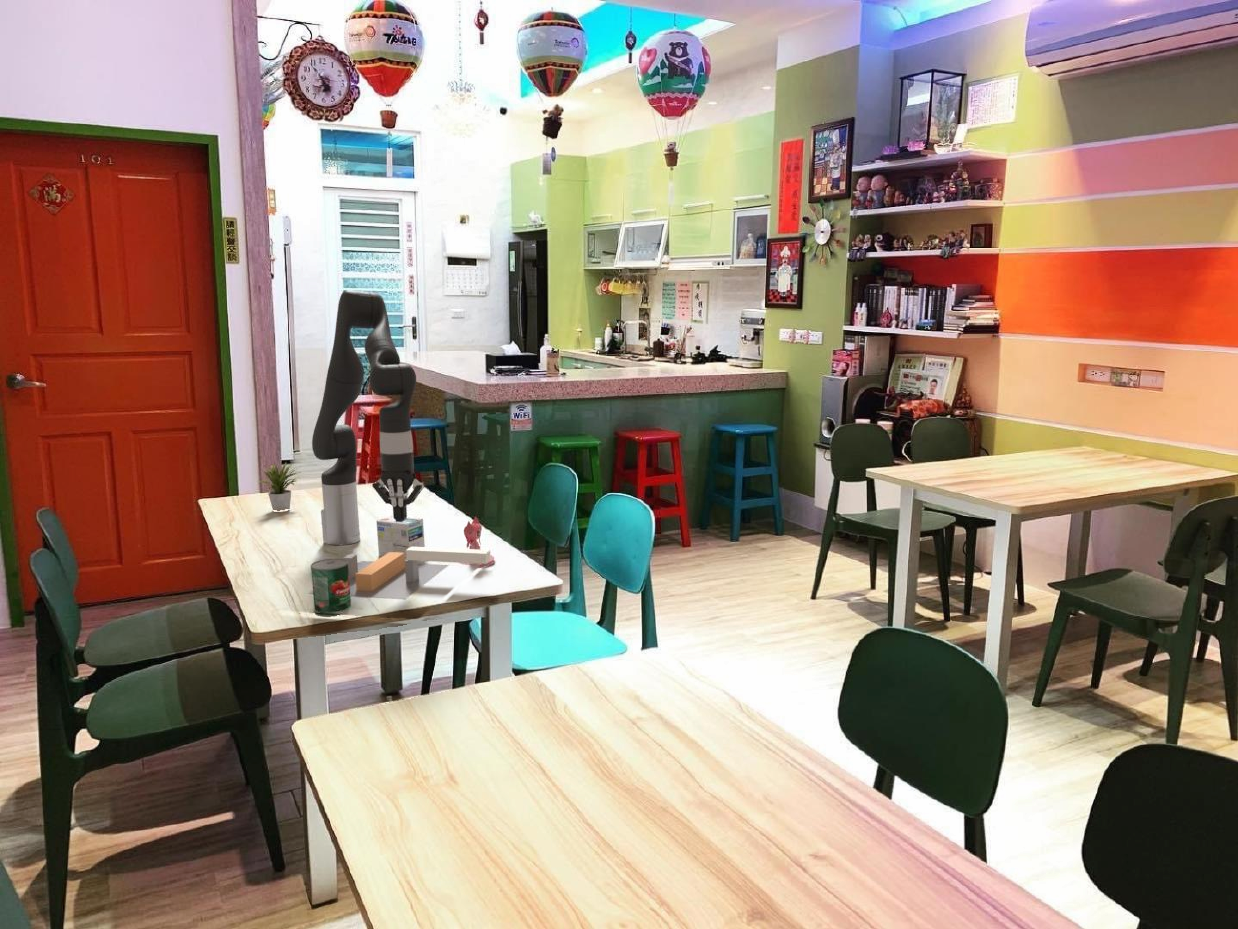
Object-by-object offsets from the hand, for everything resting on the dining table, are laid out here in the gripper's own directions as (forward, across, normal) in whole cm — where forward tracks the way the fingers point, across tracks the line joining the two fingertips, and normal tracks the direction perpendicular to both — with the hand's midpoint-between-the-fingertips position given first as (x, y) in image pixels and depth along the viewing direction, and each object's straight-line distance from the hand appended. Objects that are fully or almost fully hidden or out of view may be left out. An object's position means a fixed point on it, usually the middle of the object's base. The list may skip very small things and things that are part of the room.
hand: (400, 521), depth 214 cm
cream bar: (+9, +12, 0) cm, 15 cm away
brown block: (+15, -6, 0) cm, 16 cm away
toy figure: (+16, +11, +19) cm, 27 cm away
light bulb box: (+16, -10, +20) cm, 27 cm away
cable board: (+16, -6, 0) cm, 17 cm away
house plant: (+17, -72, +63) cm, 97 cm away
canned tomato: (+16, -8, -20) cm, 27 cm away
